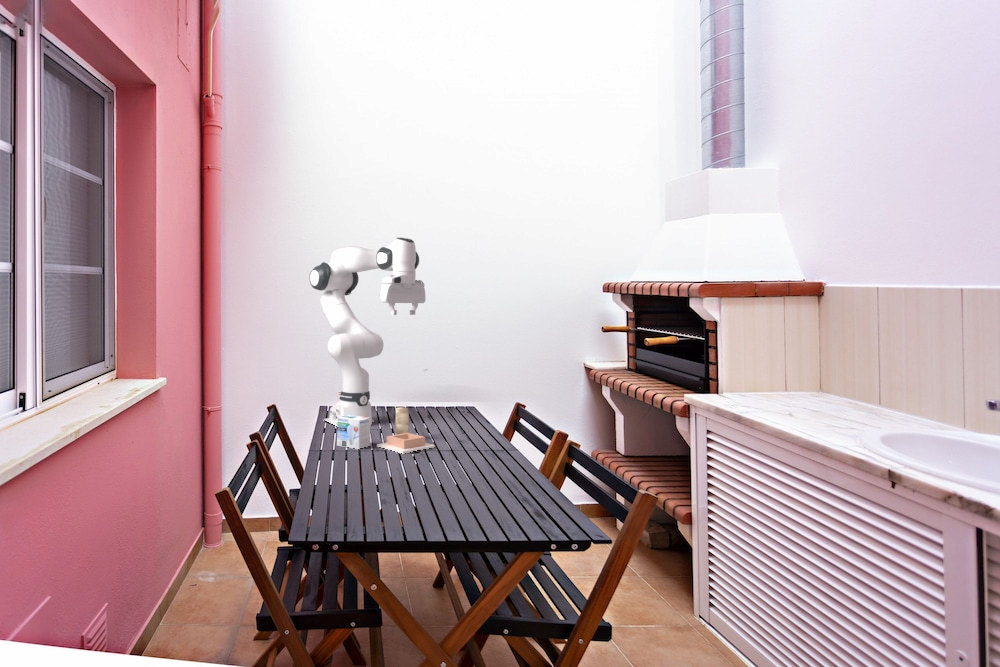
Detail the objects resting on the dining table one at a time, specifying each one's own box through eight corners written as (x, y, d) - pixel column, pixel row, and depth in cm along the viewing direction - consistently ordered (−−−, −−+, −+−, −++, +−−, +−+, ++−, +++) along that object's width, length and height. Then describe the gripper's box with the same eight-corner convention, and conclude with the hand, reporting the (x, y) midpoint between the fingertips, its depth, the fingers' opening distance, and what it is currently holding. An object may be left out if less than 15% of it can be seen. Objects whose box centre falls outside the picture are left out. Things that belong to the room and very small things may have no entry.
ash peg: (392, 439, 275) (393, 408, 274) (402, 437, 278) (403, 407, 278) (400, 441, 271) (401, 410, 271) (411, 439, 275) (411, 408, 274)
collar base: (376, 446, 260) (376, 436, 260) (408, 441, 271) (408, 430, 271) (402, 454, 250) (403, 442, 250) (434, 447, 261) (434, 437, 261)
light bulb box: (336, 446, 260) (336, 417, 260) (348, 443, 266) (348, 414, 266) (359, 449, 255) (359, 420, 255) (371, 446, 261) (371, 417, 261)
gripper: (419, 280, 287) (418, 314, 288) (378, 278, 272) (377, 314, 273) (429, 280, 283) (428, 315, 284) (388, 278, 268) (388, 315, 269)
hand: (403, 314), depth 279 cm, fingers open, 8 cm apart
